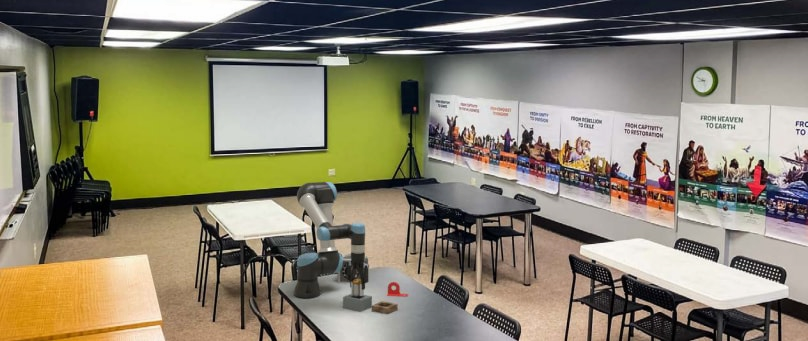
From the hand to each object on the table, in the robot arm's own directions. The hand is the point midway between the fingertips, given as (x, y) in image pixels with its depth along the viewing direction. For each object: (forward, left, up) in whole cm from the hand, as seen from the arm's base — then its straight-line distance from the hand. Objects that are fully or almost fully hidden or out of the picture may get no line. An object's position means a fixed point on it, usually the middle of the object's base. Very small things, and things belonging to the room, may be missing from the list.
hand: (357, 294), depth 342 cm
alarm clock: (-31, +39, -8) cm, 50 cm away
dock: (0, 0, -7) cm, 7 cm away
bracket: (+7, +31, -8) cm, 32 cm away
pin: (0, 0, -5) cm, 5 cm away
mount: (+15, +4, -7) cm, 17 cm away
